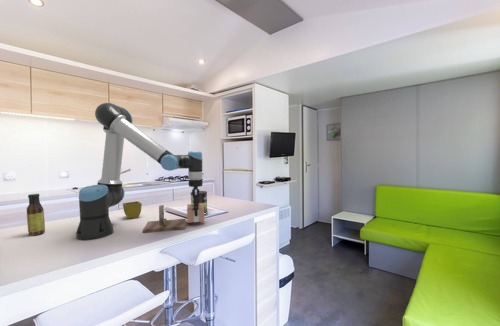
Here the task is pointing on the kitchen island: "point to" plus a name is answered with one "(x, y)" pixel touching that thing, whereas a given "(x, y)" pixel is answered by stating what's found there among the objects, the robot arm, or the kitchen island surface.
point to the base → (165, 228)
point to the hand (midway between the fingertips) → (195, 219)
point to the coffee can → (201, 199)
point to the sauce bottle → (35, 215)
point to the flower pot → (132, 209)
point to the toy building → (190, 212)
